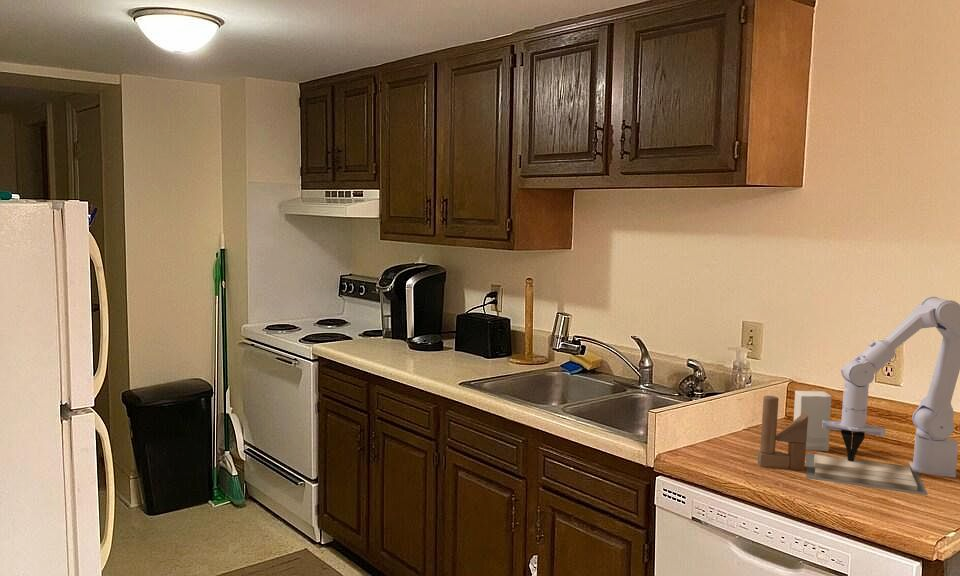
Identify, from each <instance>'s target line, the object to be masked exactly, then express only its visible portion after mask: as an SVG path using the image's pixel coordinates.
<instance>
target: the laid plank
mask: <svg viewBox="0 0 960 576" xmlns="http://www.w3.org/2000/svg"><path fill="white" fill-rule="evenodd" d="M815 477H819V478H827V479H834V480H841V481H848V482H855V483H862V484H869V485H876V486H883V487H890V488H898V489H905V490H912V491H917V484H916V482H915V479H914V477H913V476H907V475H900V474H892V473H885V472H878V471H870V470H863V469H855V468H848V467H840V466H833V465H826V464H818V463H815Z"/></svg>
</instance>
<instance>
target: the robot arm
mask: <svg viewBox="0 0 960 576" xmlns="http://www.w3.org/2000/svg"><path fill="white" fill-rule="evenodd" d="M927 328H928V329H929V328H930V329H931V328H935V329H937V331H938V332H939V333H940V335H941V336H942V340H941V343H940V347H939V351H938V355H937V358H936V361H935V365H934V369H933V372H932V373H933V374H932V375H931V380H930V384H929V387H928V391H927V395H926V396H925V397H924V398H922V399H921V400H920V402H919V405H918V407H917V408H916V409H915V410H914V412H913V413H912V415H911V416H912V417H911V420H912V423H913V425H914V426H915V428H916V430H915V436H914V437H915V438H914V447H913V449H914V450H913V459H912V460H913V461H909V462H908V463H909V465H910V466H909V467H911V468H912V470H913V472H918V474H919V473H920V474H926V475H933V476H940V477H942V476H943V477H950V478H957V464H958V454H959V453H958V451H959V450H958V449H959V445H958V441H957V439H954V438H949V437H951V436H952V434H953V433H954V431H955V423H954V417H955V411H954V408H953V406H952V405H953V404H952V400H953V396H954V393H955V390H956V389H955V388H956V385H957V381H958V378H959V375H960V303H958V302H957V301H955V300H950V299H949V300H948V299H944V298H940V297H938V296H930V297H926V298H925V299H924V300H923V301H922V302H921V303H920V304H918V305H916V306H915V307H914V308H913V309H912V311H911V313H909V314H908V316H907V317H906V318H905V319H904V320H903V321H902V322H901V323H900V324H898V326H896V327H895V328H894V330H893V331H891V333H890V334H888V335H887V337H885V338H884V339H875V341H872V340H871V341H870V342H869V343H868V347H866V349H864V350H863V351H862V352H861V353H860V354H859V355H856V356H855V357H854V359H853V360H849V361H847V362H846V363H845V364H844V365H843V368H842V369H841V370H840V373H841V376H842V378H843V379H844V381H843V382H844V384H843V395H842V407H841V408H842V409H841V418H840V419H841V421H835V420H830V421H822V429H823V430H827V429H829V430H830V431H831V430H832V431H839V432H840V434H841V438H842V439H843V440H842V441H843V443H844V445H845V448H846V454H847V457H846V458H847V459H848V461H854V459H856V458H855V457H856V454H857V451H858V449H859V448H860V446H861V444H862V443H863V442H864V439H865V436H866V435H872V436H879V437H882V438H885V435H886V428H885V427H881V426H875V425H869V424H867V415H868V414H867V413H868V401H869V387H870V384H871V383H873V381H874V380H875V374H876V373H878V372H879V371H880V370H881V369H882V368H883V367H884V366H885V365H887V364H888V363H889V362H890V361H891V360H892V359H894V358H895V357H896V349H897V348H898V347H899V346H901V345H902V344H903V343H905V342H907V340H908V339H910V338H911V337H913V336H914V335H916V333H918V332H919V331H920V330H921V329H927Z"/></svg>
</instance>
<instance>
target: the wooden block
mask: <svg viewBox="0 0 960 576" xmlns="http://www.w3.org/2000/svg"><path fill="white" fill-rule="evenodd" d="M762 402H763V403H762V414H761V415H762V416H761V428H760V429H761V432H760V447H759V450H758V451H757V464H758V466H759V467H760V468H771V469H781V470H784V469H785V470H798V471H799V470H800V471H805V468H806V453H807V452H806V451H807V450H806V439H807V425H808V416H807V415H806V414H805V413H803V414H802V415H800V416H799V417H798V418H797V419H796V420H794V419H793V421H791V422H790V423H789V424H788V425H786V427H784V428H782V430H781V431H780V432H778V433H777V431H778V430H777V427H778V412H779V397H778V396H775V395H764V396H763V399H762ZM777 442H784V443H787V453H786V452H782V451H779V450H778V451H776V446H777V445H776V443H777Z"/></svg>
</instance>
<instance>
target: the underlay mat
mask: <svg viewBox="0 0 960 576" xmlns="http://www.w3.org/2000/svg"><path fill="white" fill-rule="evenodd" d="M814 455H815V453H814V454H812V453H807V452H806V453H805V478H806V479H808V480H810V479H811V480H816V481H817V480H818V481H822V482H823V481H824V482H830V483H838V484H845V485H851V486H852V485H853V486H859V487H866V488H872V489H873V488H874V489H880V490H888V491H895V492H901V493H908V494H916V495H924V496H929V494H928V492H927V491H926V488H925V486H924V483H923V482H922V480H921V477H920V475H919V473H918V472H913V470H912V468H911V466H909V468H910V470H911V472H912V475H913V477H914V479H915V482H916V484H917V491H912V490H905V489H898V488H890V487H883V486H876V485H869V484H862V483H855V482H848V481H841V480H834V479H827V478H819V477H815V464H814Z"/></svg>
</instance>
